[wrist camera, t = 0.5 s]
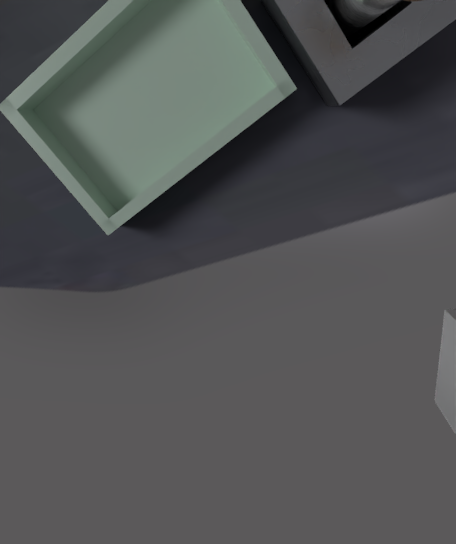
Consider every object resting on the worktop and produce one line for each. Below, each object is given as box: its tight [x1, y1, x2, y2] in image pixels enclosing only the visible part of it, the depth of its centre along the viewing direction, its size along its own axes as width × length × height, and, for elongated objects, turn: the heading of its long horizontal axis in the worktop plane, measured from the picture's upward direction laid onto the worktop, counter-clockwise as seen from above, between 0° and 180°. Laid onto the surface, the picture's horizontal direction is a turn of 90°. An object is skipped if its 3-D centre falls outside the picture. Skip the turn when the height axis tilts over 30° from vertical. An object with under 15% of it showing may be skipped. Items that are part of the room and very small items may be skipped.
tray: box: [0, 0, 297, 235], centre depth 32 cm, size 12×18×3 cm, turn 127°
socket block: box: [261, 0, 456, 106], centre depth 29 cm, size 9×9×5 cm
